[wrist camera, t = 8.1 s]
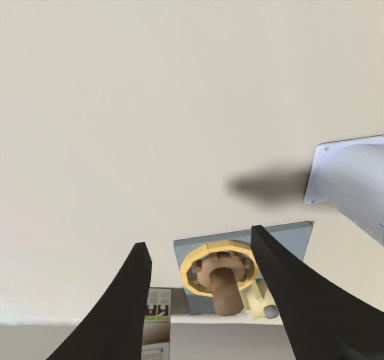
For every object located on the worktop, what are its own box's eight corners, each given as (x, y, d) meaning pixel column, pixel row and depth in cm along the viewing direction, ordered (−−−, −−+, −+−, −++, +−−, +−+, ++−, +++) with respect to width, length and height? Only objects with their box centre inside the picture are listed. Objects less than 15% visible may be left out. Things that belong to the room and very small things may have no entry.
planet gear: (241, 240, 25) (257, 280, 20) (252, 275, 29) (267, 315, 24) (182, 258, 25) (184, 301, 20) (201, 289, 30) (206, 331, 25)
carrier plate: (307, 221, 25) (335, 250, 21) (288, 295, 34) (304, 326, 30) (173, 240, 25) (173, 274, 21) (190, 309, 34) (192, 343, 30)
